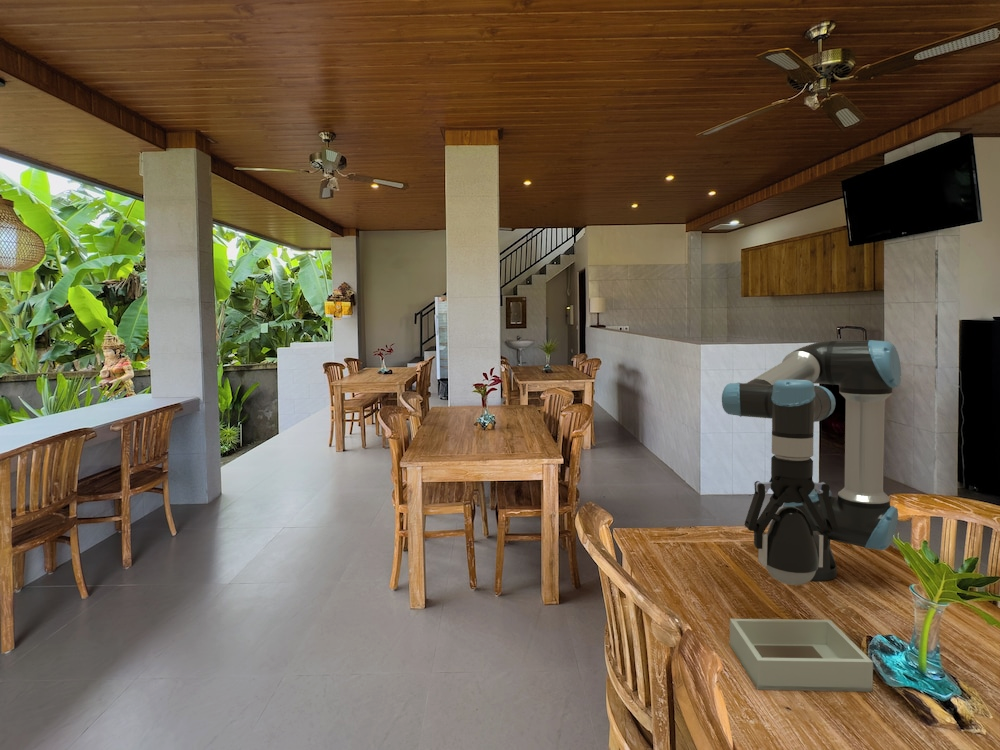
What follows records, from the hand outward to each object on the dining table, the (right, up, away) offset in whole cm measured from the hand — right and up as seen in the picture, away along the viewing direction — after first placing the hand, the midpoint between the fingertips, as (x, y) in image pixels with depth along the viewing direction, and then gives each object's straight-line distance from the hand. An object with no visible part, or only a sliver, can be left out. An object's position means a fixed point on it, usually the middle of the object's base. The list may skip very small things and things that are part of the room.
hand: (790, 564), depth 118 cm
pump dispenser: (0, -3, 0) cm, 3 cm away
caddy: (+1, -20, -1) cm, 21 cm away
